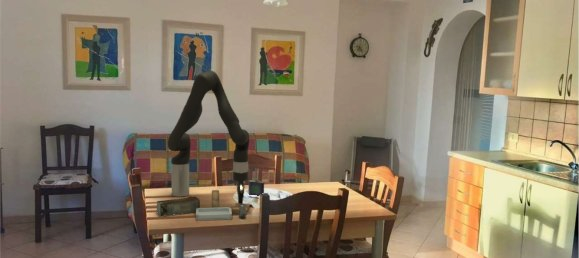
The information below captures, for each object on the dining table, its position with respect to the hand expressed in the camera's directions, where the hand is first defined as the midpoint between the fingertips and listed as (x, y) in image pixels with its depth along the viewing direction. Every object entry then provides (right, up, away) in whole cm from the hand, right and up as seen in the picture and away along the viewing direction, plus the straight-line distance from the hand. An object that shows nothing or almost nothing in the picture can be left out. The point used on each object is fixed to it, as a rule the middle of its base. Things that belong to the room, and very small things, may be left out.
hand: (240, 204), depth 233 cm
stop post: (+3, -3, -16) cm, 17 cm away
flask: (+7, +1, +19) cm, 20 cm away
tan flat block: (+1, -3, -7) cm, 7 cm away
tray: (-11, -3, -15) cm, 19 cm away
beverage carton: (-28, -2, -10) cm, 30 cm away
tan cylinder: (-12, -2, -3) cm, 12 cm away
